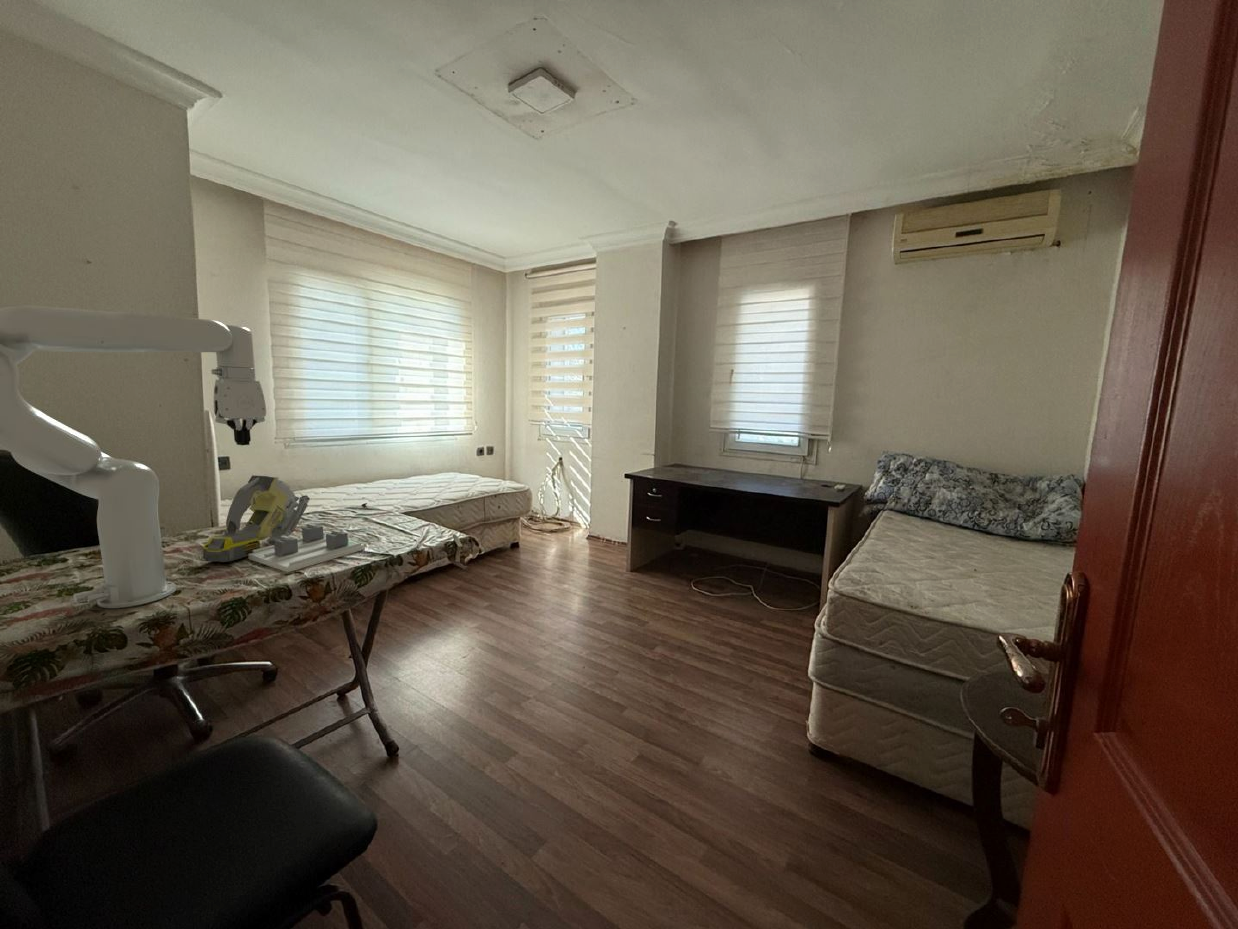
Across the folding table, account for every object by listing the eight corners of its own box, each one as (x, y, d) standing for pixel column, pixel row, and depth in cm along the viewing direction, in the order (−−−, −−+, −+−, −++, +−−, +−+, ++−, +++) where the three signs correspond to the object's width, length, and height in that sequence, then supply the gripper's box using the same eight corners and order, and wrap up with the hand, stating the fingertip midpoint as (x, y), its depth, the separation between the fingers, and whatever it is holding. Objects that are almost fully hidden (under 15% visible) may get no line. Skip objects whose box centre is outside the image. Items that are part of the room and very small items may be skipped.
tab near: (335, 551, 136) (334, 533, 136) (326, 548, 138) (325, 531, 137) (348, 547, 140) (347, 530, 139) (339, 544, 142) (338, 528, 141)
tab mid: (283, 558, 129) (281, 539, 129) (274, 555, 131) (273, 537, 130) (298, 554, 133) (297, 536, 132) (290, 551, 135) (288, 533, 134)
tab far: (310, 543, 142) (309, 527, 141) (302, 541, 143) (301, 525, 143) (323, 540, 145) (322, 524, 144) (316, 538, 147) (314, 522, 146)
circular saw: (318, 504, 159) (271, 461, 139) (273, 588, 142) (212, 553, 122) (289, 502, 160) (239, 460, 140) (242, 586, 143) (176, 551, 123)
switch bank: (287, 572, 124) (286, 564, 123) (248, 558, 132) (248, 551, 132) (364, 549, 143) (364, 542, 143) (326, 538, 152) (326, 531, 151)
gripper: (209, 373, 113) (216, 448, 116) (276, 376, 126) (281, 443, 129) (193, 373, 116) (201, 445, 119) (261, 376, 130) (266, 441, 132)
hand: (243, 444), depth 124 cm, fingers closed
